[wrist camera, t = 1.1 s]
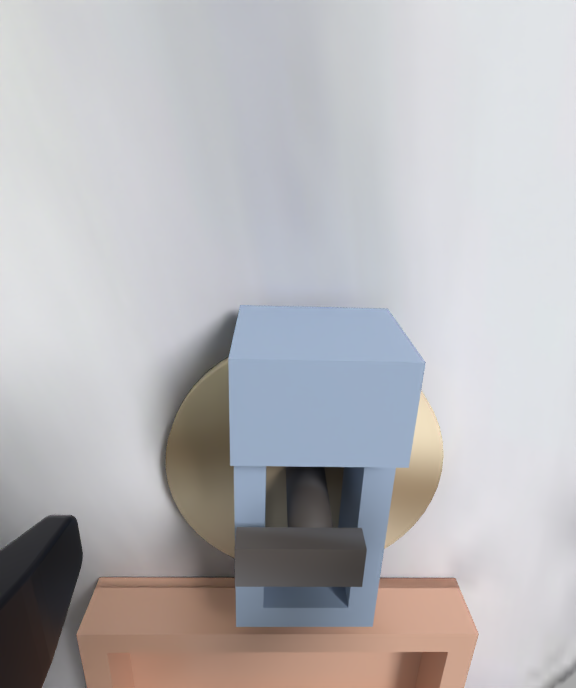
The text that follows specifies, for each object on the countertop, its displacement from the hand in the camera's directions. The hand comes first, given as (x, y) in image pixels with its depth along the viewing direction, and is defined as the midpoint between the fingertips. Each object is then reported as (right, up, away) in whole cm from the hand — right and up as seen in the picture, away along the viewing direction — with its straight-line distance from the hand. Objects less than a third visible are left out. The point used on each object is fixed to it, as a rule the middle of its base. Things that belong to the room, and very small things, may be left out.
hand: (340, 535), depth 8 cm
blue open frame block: (0, 0, +9) cm, 9 cm away
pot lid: (0, -1, +9) cm, 10 cm away
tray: (-1, -11, +14) cm, 18 cm away
